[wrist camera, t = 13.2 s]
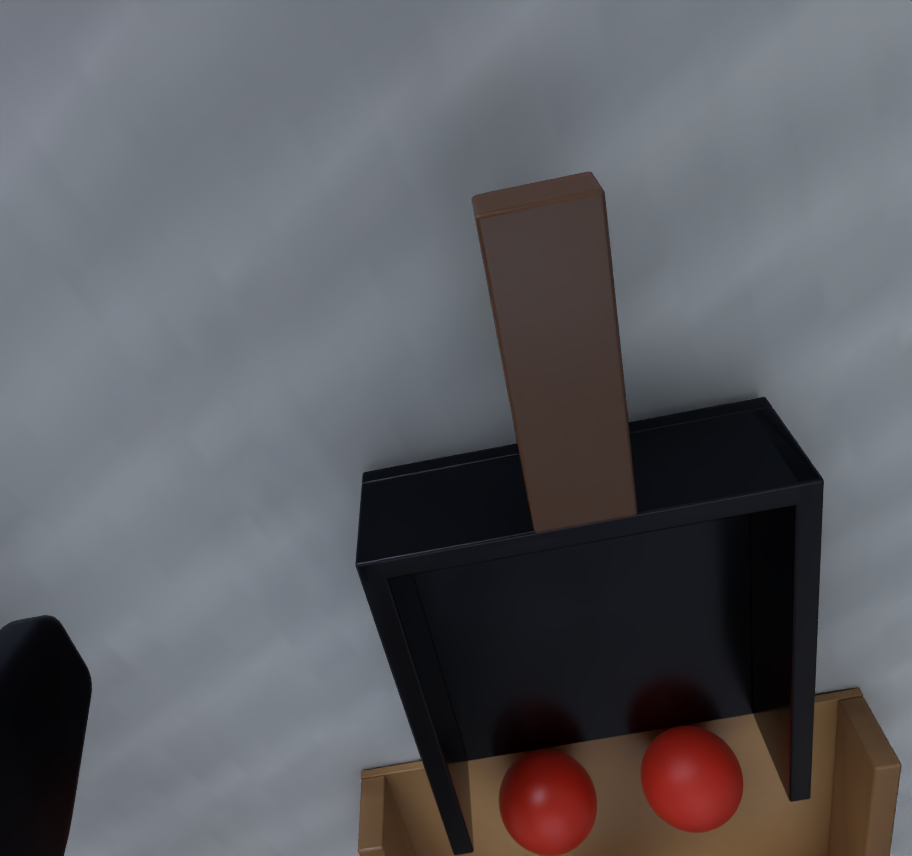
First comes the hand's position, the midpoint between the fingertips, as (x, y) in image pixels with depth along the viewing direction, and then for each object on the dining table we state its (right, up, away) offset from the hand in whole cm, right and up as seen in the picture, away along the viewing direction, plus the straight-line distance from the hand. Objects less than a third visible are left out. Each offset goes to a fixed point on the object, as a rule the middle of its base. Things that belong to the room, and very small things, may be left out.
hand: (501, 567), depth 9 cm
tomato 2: (+7, -9, +18) cm, 21 cm away
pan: (+3, 0, +14) cm, 14 cm away
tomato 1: (+2, -10, +18) cm, 21 cm away
